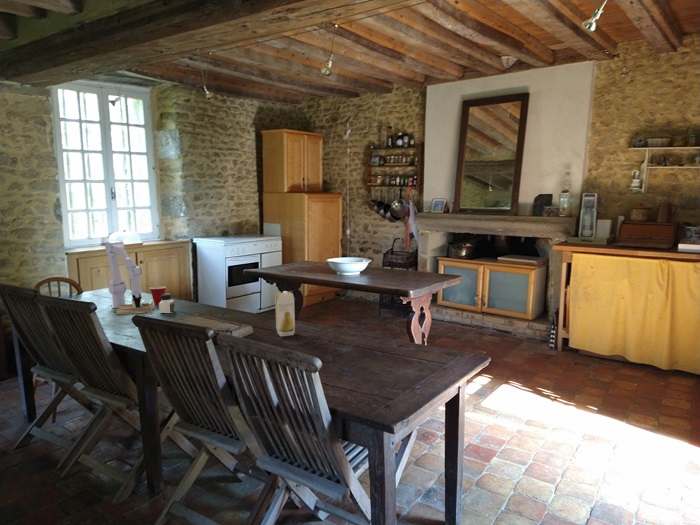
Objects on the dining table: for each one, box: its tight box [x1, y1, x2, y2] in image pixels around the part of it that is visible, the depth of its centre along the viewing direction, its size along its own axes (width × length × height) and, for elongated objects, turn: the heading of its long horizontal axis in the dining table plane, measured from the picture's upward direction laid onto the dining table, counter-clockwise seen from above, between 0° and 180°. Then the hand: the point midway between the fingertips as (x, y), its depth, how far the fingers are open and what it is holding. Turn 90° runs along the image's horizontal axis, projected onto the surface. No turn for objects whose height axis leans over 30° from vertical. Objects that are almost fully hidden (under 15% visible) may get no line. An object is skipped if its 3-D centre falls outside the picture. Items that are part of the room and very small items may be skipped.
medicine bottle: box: [158, 293, 175, 314], centre depth 310 cm, size 7×7×12 cm
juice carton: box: [274, 290, 296, 337], centre depth 262 cm, size 9×8×24 cm
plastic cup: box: [149, 285, 167, 306], centre depth 333 cm, size 11×11×12 cm
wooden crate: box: [115, 299, 154, 316], centre depth 314 cm, size 12×20×6 cm, turn 106°
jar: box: [131, 298, 142, 308], centre depth 314 cm, size 5×5×7 cm
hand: (137, 306), depth 315 cm, fingers closed on jar, 5 cm apart
